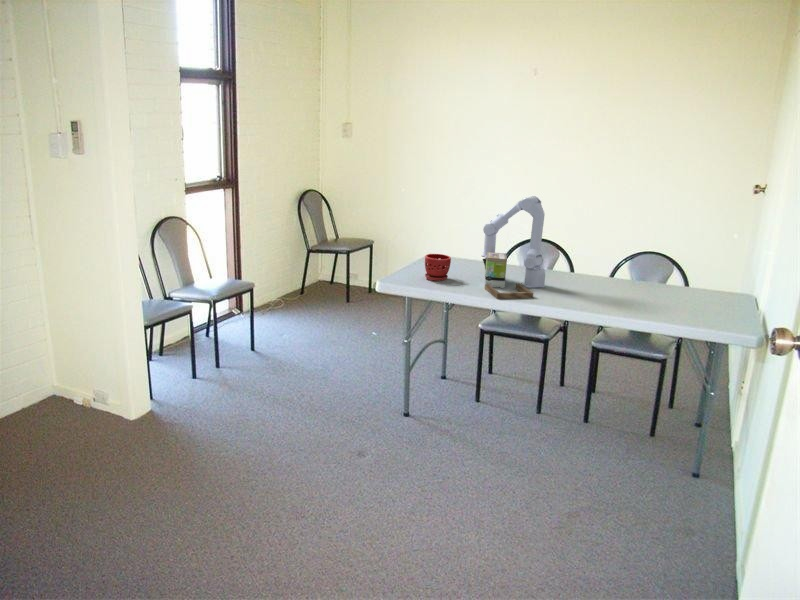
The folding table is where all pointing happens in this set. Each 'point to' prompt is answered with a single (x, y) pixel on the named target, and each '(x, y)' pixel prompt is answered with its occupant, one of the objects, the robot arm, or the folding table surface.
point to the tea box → (495, 269)
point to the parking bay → (522, 294)
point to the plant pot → (437, 266)
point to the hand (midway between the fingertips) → (488, 272)
